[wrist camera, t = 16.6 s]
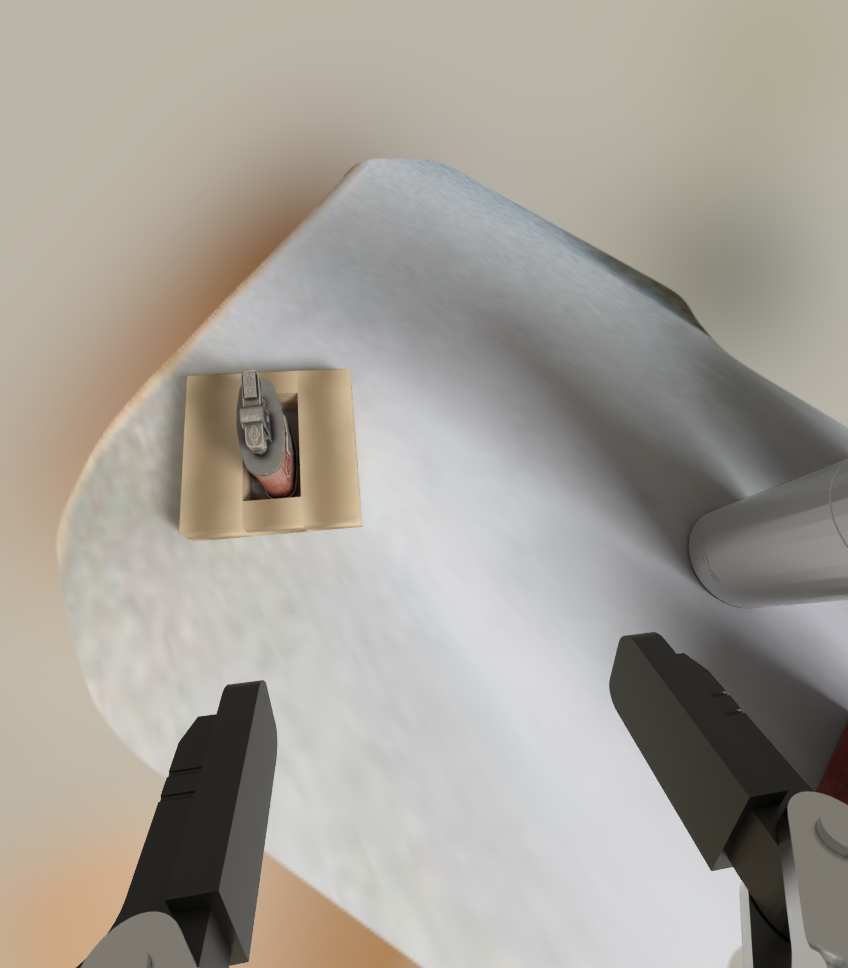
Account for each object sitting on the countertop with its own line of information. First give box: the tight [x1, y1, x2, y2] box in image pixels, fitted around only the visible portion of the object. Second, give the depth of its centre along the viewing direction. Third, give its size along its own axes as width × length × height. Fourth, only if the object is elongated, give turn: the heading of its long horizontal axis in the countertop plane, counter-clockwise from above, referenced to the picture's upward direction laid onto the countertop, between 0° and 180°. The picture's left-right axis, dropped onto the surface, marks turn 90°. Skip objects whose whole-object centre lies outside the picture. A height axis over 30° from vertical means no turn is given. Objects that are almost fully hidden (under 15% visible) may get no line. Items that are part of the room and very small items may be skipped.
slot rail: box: [179, 369, 362, 541], centre depth 40 cm, size 14×14×3 cm
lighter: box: [236, 370, 299, 499], centre depth 37 cm, size 8×3×10 cm, turn 10°
